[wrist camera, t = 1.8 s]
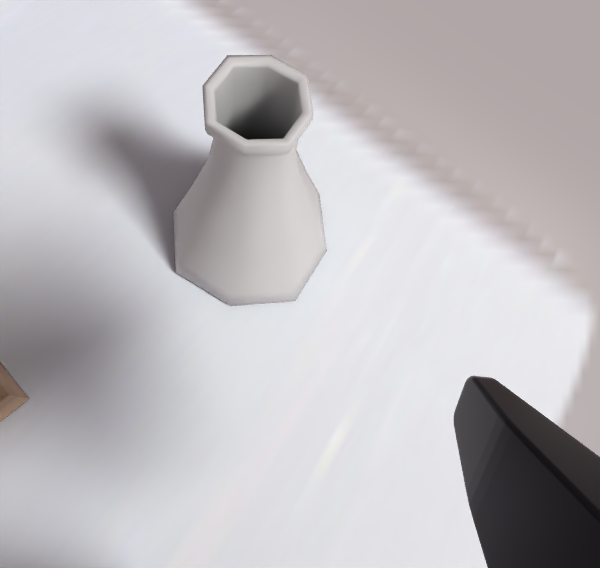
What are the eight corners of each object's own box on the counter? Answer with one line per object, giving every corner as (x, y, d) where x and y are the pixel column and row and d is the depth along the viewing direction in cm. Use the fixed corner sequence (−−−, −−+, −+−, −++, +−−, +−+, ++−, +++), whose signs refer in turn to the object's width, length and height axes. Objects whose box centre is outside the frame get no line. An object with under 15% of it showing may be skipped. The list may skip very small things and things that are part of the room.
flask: (195, 149, 25) (168, -31, 15) (340, 185, 25) (401, 32, 16) (150, 288, 23) (86, 179, 13) (309, 326, 23) (360, 247, 13)
